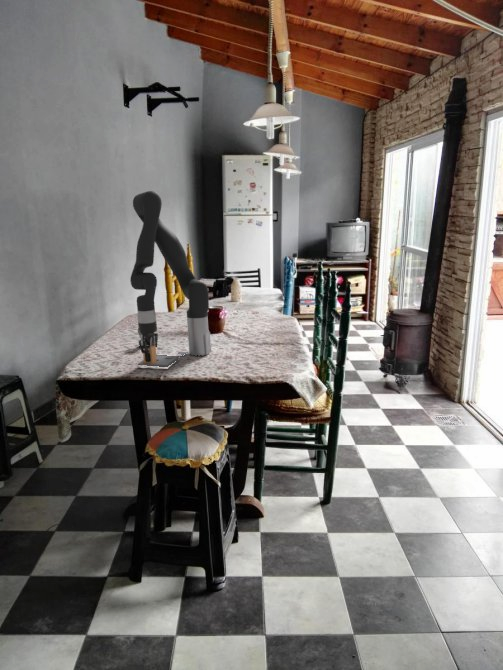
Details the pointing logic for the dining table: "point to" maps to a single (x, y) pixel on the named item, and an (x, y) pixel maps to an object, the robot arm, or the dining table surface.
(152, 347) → the block
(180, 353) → the phone
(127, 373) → the dining table surface
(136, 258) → the robot arm
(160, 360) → the outlet plate
